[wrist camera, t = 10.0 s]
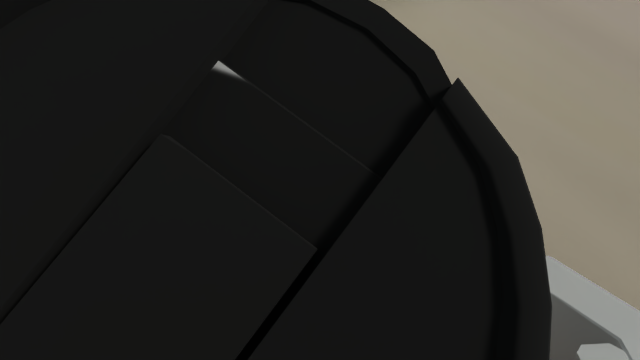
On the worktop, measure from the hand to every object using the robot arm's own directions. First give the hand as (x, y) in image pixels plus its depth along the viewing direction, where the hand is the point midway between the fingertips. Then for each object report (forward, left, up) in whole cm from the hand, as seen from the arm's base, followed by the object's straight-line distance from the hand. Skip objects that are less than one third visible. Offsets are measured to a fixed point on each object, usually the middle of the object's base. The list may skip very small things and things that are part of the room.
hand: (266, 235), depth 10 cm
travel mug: (0, 0, -14) cm, 14 cm away
